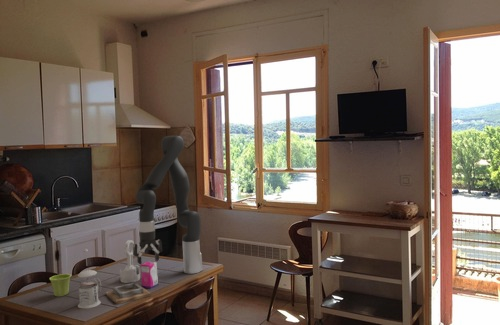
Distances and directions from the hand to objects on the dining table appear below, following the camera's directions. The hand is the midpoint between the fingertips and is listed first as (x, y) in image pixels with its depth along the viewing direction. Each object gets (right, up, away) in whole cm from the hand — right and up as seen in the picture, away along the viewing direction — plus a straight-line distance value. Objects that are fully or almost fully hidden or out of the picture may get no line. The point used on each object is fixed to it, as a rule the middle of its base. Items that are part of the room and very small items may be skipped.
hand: (148, 262), depth 212 cm
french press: (-21, -14, -21) cm, 33 cm away
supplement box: (+1, -12, +1) cm, 12 cm away
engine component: (-12, -12, +13) cm, 21 cm away
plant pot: (-40, -14, -7) cm, 43 cm away
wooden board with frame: (-7, -13, -11) cm, 18 cm away
